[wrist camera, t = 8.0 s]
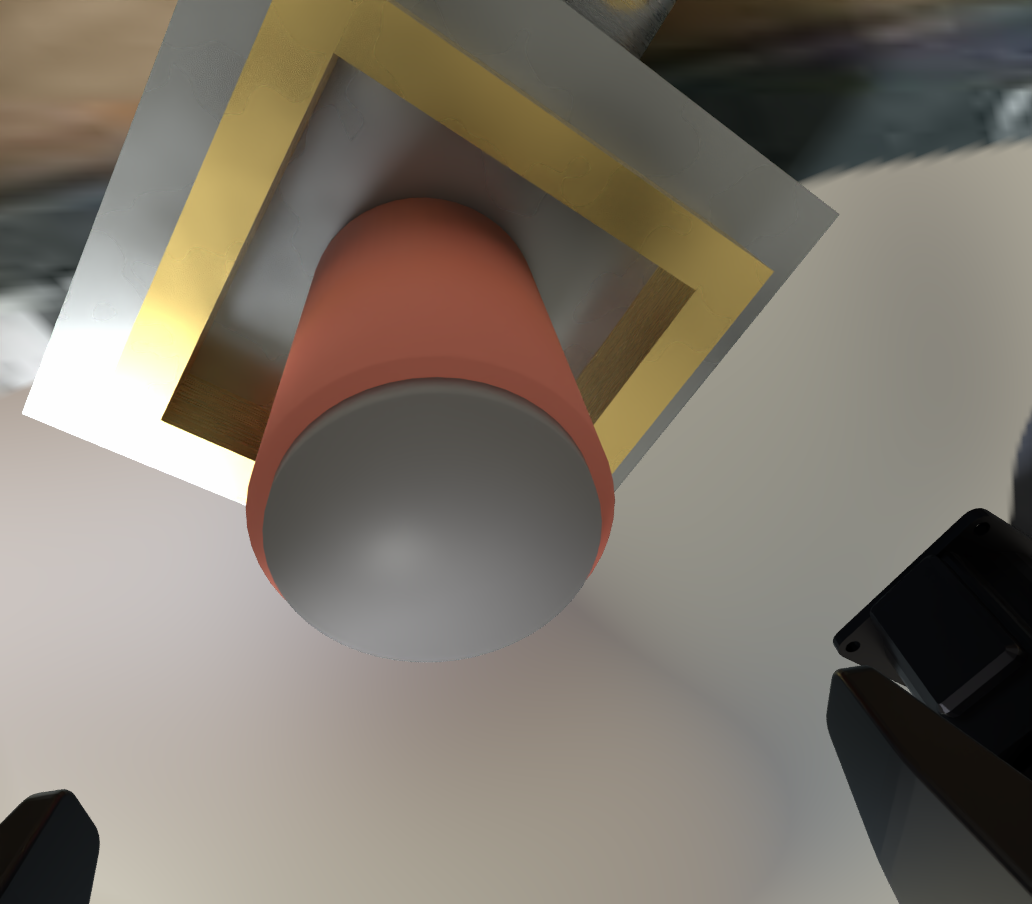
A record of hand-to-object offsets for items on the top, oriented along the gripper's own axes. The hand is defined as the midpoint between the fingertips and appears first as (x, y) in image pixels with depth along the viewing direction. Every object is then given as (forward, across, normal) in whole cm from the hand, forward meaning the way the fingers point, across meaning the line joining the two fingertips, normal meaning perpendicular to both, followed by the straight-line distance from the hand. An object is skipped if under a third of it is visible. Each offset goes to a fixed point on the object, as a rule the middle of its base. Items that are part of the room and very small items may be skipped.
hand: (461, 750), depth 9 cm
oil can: (+9, 0, -2) cm, 9 cm away
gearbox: (+12, -1, -3) cm, 12 cm away
